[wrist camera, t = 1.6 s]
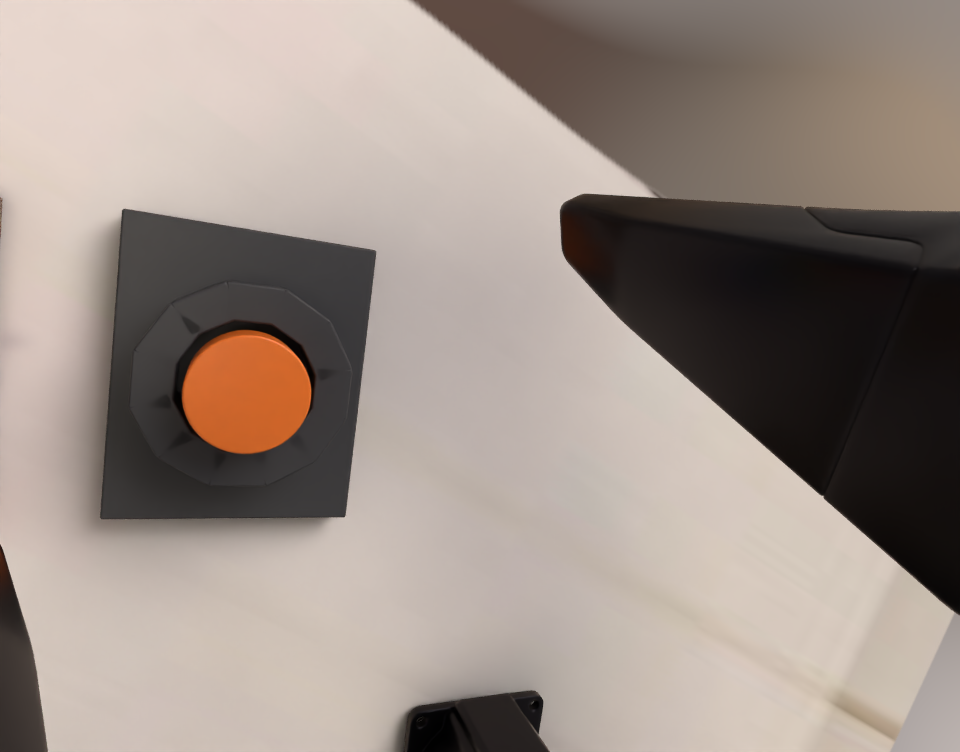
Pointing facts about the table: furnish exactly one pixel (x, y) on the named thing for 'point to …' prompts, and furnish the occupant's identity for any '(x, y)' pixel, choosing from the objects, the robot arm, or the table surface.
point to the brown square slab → (0, 213)
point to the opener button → (246, 392)
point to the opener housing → (198, 319)
